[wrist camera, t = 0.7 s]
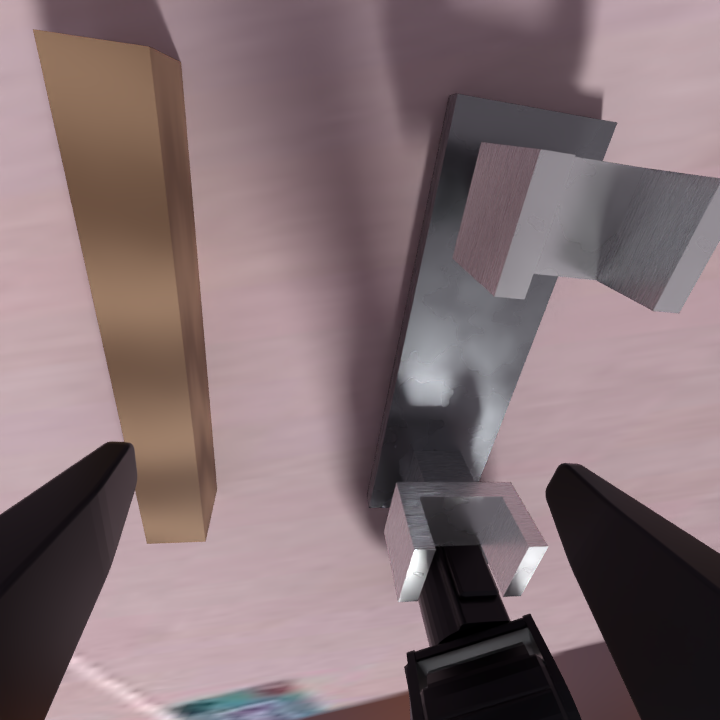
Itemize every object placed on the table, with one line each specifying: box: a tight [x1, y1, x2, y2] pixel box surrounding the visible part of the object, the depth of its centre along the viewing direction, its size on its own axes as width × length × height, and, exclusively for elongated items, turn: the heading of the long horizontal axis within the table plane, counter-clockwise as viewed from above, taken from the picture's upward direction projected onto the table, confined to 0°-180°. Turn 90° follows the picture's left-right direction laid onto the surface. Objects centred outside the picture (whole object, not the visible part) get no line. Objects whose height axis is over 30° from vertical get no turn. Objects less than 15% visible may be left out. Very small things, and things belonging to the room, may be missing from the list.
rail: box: [33, 29, 217, 544], centre depth 19 cm, size 22×3×4 cm, turn 174°
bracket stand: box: [367, 94, 720, 602], centre depth 19 cm, size 23×7×8 cm, turn 172°
